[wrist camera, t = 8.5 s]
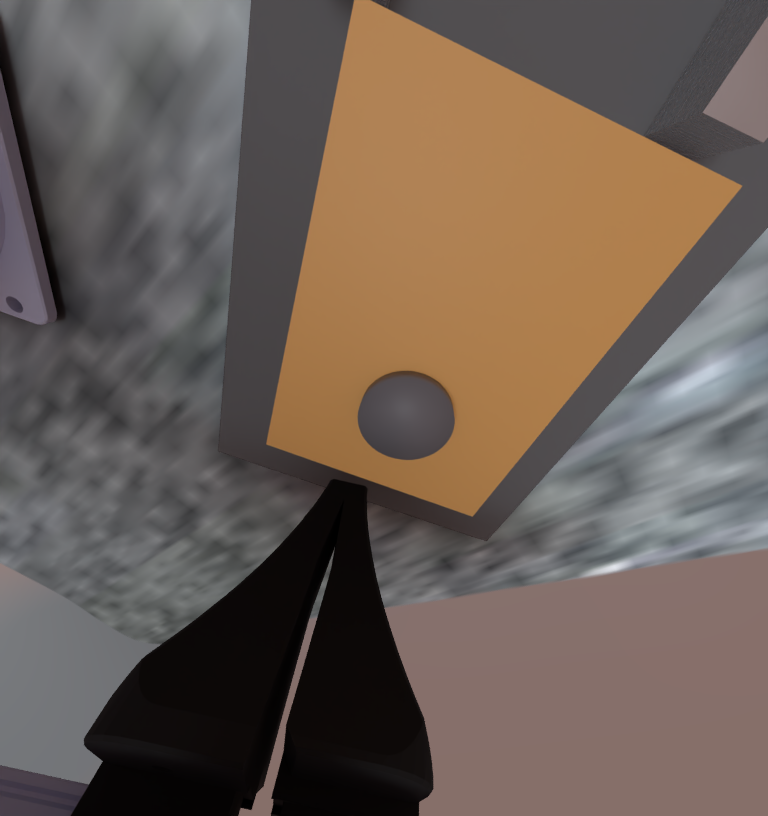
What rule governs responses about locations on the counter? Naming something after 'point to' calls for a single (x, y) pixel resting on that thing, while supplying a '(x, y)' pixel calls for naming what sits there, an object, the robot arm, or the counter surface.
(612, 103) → the mat
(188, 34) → the counter surface
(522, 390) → the block
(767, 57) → the sliding latch
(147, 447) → the counter surface
